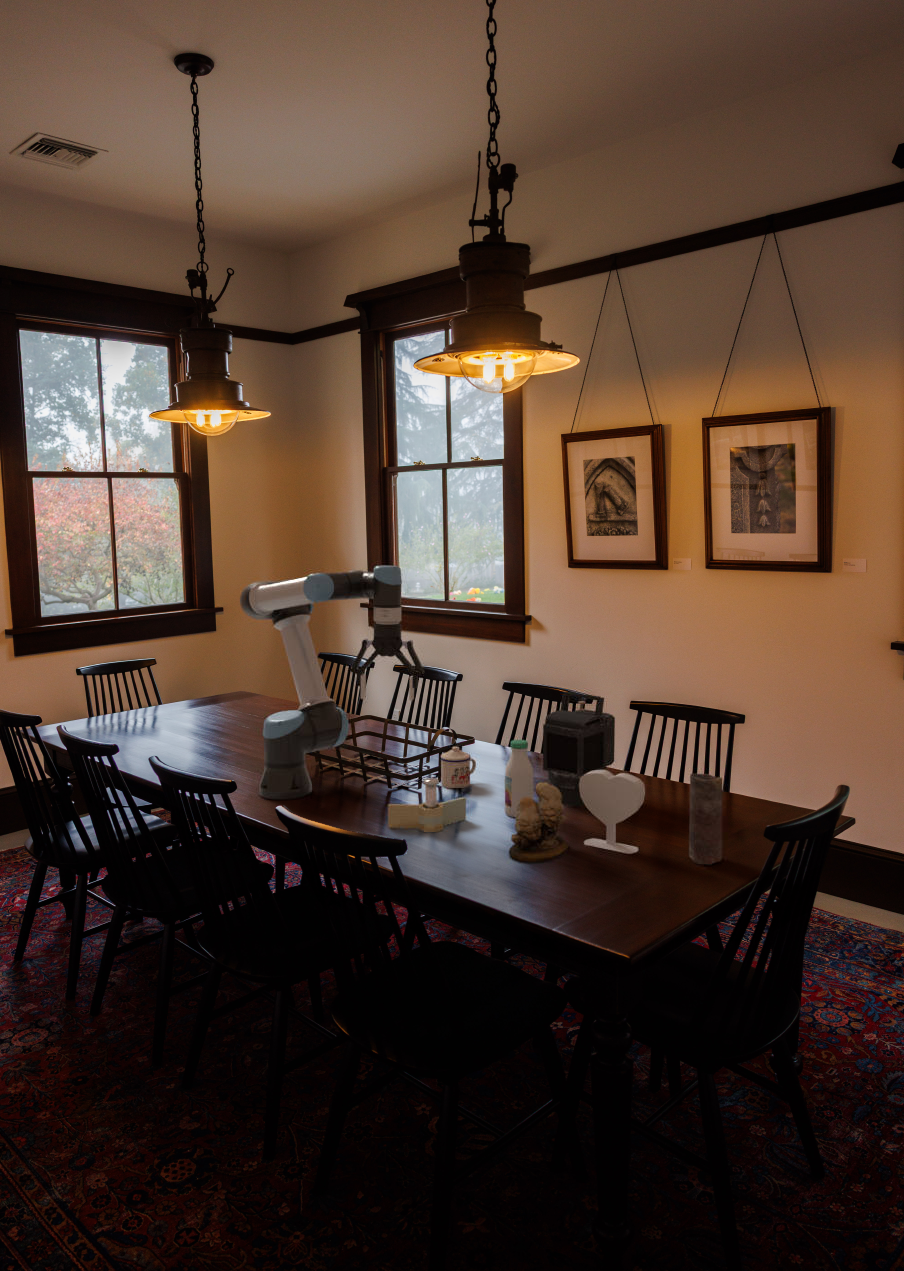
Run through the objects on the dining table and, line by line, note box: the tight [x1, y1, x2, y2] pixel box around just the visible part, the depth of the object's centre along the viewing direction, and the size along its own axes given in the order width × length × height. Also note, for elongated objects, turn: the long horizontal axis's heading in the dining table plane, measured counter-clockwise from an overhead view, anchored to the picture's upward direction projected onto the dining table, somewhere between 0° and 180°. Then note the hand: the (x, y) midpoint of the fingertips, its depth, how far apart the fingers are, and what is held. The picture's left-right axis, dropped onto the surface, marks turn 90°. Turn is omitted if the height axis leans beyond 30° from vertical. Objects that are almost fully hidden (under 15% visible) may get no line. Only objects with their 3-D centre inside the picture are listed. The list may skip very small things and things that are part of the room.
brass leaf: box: [387, 801, 445, 833], centre depth 223 cm, size 14×6×6 cm, turn 83°
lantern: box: [542, 691, 616, 807], centre depth 245 cm, size 15×18×30 cm
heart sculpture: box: [579, 769, 646, 855], centre depth 208 cm, size 16×5×18 cm, turn 57°
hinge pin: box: [422, 777, 440, 809], centre depth 222 cm, size 4×4×13 cm
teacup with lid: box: [440, 746, 477, 789], centre depth 261 cm, size 12×9×12 cm
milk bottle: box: [504, 739, 535, 818], centre depth 232 cm, size 8×8×20 cm
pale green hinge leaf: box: [418, 796, 467, 826], centre depth 224 cm, size 14×6×6 cm, turn 128°
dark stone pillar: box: [688, 773, 723, 866], centre depth 199 cm, size 8×7×20 cm
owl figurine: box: [508, 781, 569, 864], centre depth 205 cm, size 18×12×17 cm, turn 139°
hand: (387, 698), depth 239 cm, fingers open, 13 cm apart
